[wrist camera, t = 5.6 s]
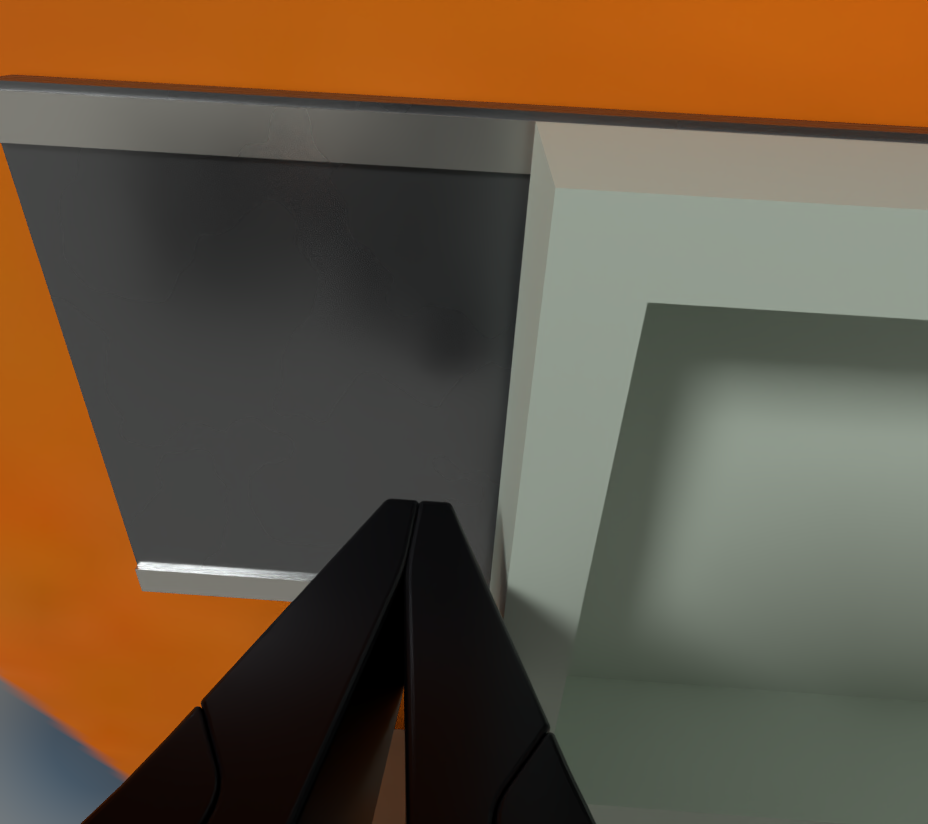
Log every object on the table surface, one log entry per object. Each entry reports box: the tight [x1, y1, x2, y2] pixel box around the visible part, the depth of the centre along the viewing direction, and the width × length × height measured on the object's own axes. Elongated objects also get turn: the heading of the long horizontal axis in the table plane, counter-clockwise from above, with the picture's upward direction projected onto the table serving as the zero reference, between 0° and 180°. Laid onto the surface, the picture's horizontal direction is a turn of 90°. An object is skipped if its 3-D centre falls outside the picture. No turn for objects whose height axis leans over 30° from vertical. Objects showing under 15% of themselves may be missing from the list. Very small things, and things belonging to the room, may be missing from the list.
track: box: [0, 75, 928, 602], centre depth 10 cm, size 9×20×1 cm, turn 87°
